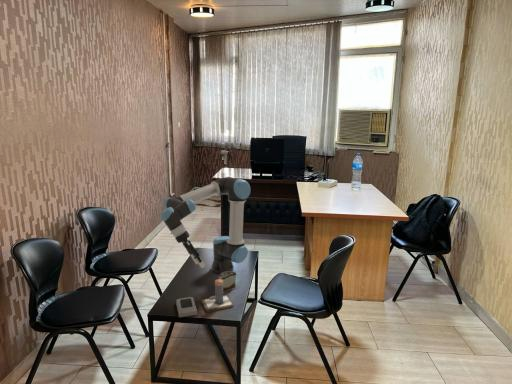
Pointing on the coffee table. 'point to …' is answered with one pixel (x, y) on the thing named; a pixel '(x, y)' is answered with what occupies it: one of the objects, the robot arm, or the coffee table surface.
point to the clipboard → (212, 306)
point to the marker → (219, 291)
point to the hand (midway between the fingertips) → (201, 264)
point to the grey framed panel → (186, 307)
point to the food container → (228, 280)
